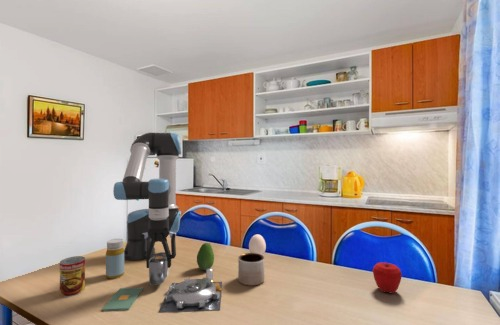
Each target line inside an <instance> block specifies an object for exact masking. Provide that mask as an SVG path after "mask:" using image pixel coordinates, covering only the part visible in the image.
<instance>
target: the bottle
mask: <svg viewBox="0 0 500 325" xmlns="http://www.w3.org/2000/svg"><path fill="white" fill-rule="evenodd" d="M124 250H125V247H124V240H123V238H112V239H109V240H107V241H106V251H105V277H106V278H108V279H111V280H112V279H118V278H121V277H122V276H123V275H124V274H125V259H124Z"/></svg>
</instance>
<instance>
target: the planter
mask: <svg viewBox="0 0 500 325" xmlns="http://www.w3.org/2000/svg"><path fill="white" fill-rule="evenodd" d="M237 269H238V270H237V271H238V274H237V275H238V276H237V278H238V282H240V283H241V284H242V285H245V286H247V287H248V286H249V287H250V286H251V287H253V286H259V285H261V284H262V283H264V282H265V279H266V278H265V277H266V276H265V256H264V254H263V255H261V254H257V253H250V252H247V253H242V254H240V255H239V256H238V268H237Z"/></svg>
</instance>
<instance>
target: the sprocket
mask: <svg viewBox="0 0 500 325" xmlns="http://www.w3.org/2000/svg"><path fill="white" fill-rule="evenodd" d="M213 272H214V269H213V268H212V267H211V268H207V269H206V270H205V275H206V276H205V277H202V278H192V279H191V278H189V277H188V278H185V279H184V280H183V281H181V282H177V283H178V284H177V285H173V284H172V283H171V284H170V285H169V287H168V291H171V293H170V294H167V293H166V294H165V297H166V301H167V302H168V301H173V302H174V303H176V304H177V308H183V307H184V306H199V308H200V307H204V306H205V303H207V302H209V301H211V300H212V299H218V298H219V297H220V292H216V290H217V289H220V284H219V283H213V282H214V278H213V276H214V274H213Z"/></svg>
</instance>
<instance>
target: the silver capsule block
mask: <svg viewBox="0 0 500 325" xmlns="http://www.w3.org/2000/svg"><path fill="white" fill-rule="evenodd" d="M151 258H152V259H151V260H150V261H149V268H148V278H149V279H148V281H149V285H151V286H152V285H153V286H157V285H161V284H162V283H163V284H164V282H165V280H166V278H167V277H165V260H166V259H167V257H166V254H165V251H163V252H158V253H155V254H154V255H153V256H152V257H151Z"/></svg>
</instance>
